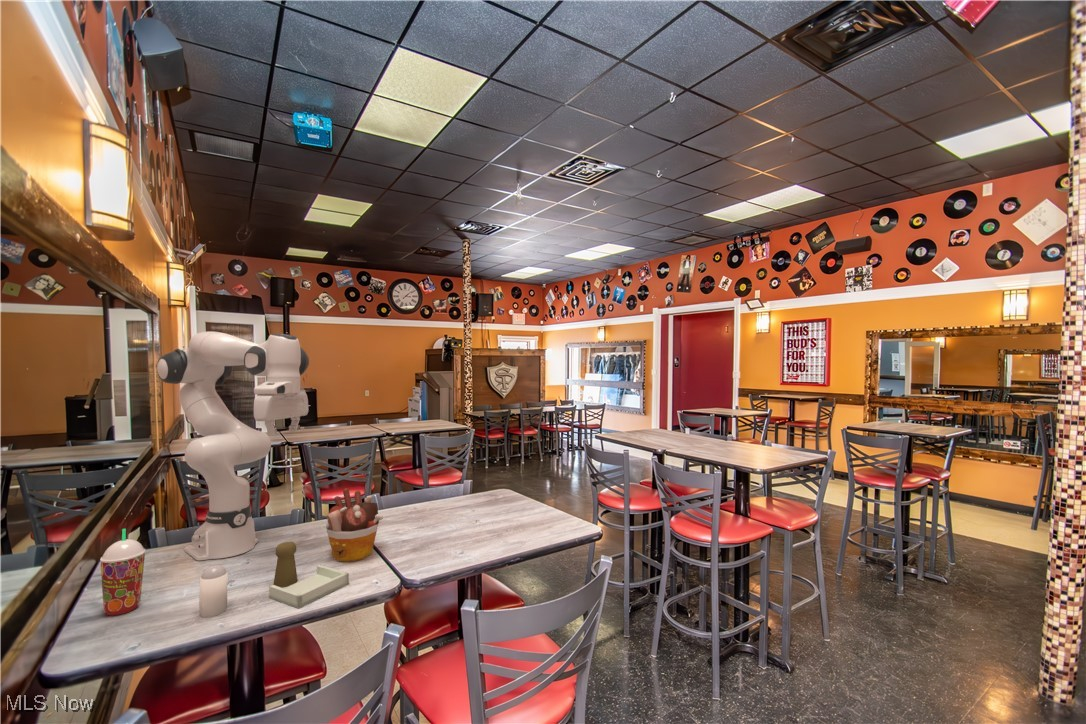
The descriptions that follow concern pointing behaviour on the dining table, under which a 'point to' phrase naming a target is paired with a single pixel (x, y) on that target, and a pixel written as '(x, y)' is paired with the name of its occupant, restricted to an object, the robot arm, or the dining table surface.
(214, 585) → the salt shaker
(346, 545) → the bucket of meat
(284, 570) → the brown chess pawn
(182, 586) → the dining table surface
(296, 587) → the tray
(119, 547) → the smoothie
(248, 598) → the dining table surface
